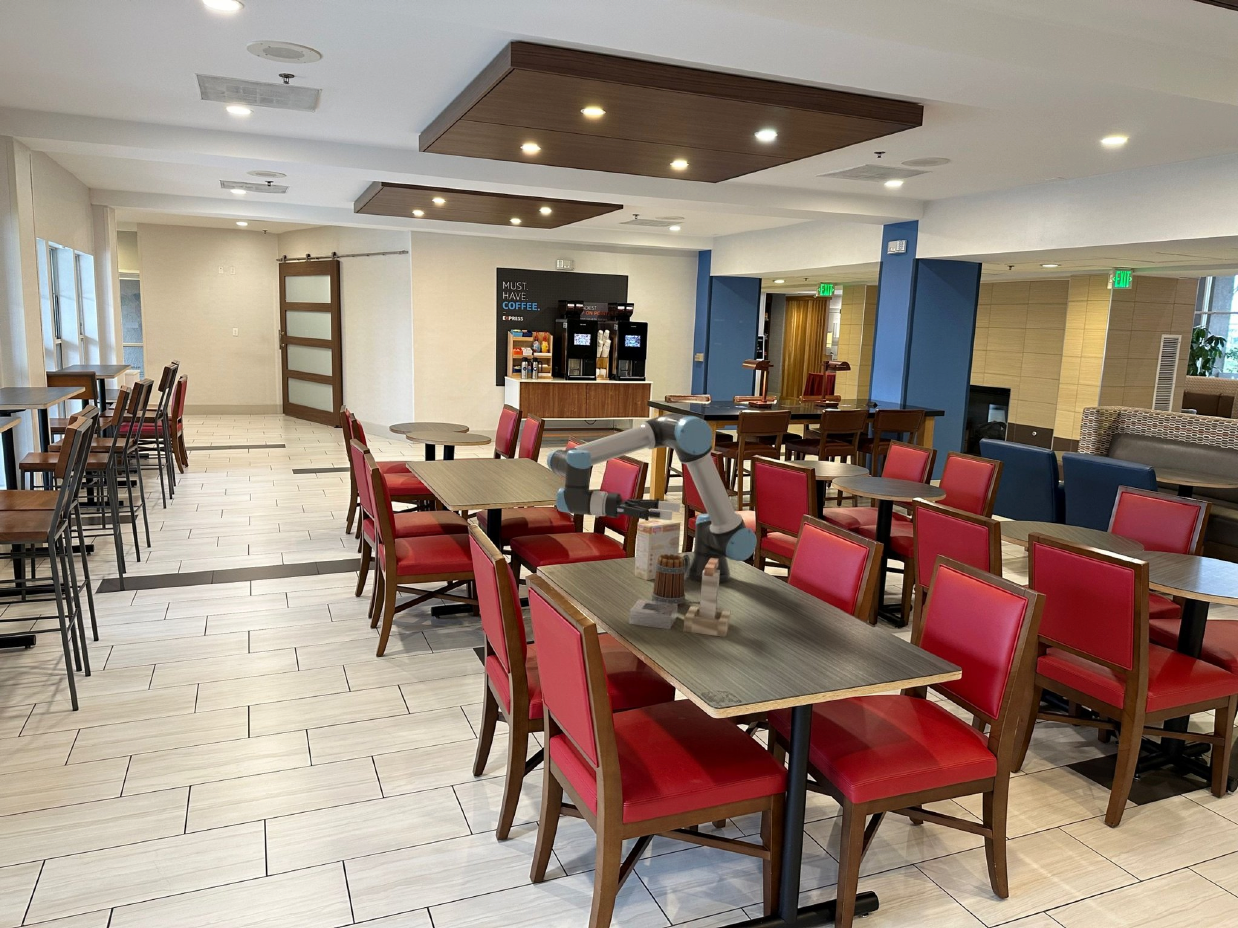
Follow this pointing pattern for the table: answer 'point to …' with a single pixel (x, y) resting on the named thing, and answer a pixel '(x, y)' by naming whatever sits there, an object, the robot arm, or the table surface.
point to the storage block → (707, 622)
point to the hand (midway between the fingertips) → (675, 511)
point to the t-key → (709, 589)
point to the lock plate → (653, 614)
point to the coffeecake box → (655, 545)
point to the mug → (671, 578)
